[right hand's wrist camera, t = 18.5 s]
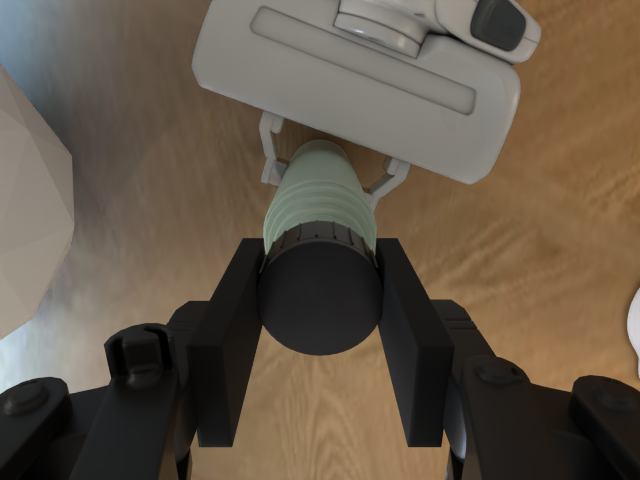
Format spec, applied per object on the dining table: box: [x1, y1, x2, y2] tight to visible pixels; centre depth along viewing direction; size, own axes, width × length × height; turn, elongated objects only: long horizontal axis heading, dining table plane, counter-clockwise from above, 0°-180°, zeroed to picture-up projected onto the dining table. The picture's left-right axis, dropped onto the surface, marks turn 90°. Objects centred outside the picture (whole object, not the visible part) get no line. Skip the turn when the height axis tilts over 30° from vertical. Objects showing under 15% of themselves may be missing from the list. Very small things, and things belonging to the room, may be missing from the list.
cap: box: [256, 220, 384, 356], centre depth 14 cm, size 4×4×2 cm
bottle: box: [263, 139, 377, 254], centre depth 24 cm, size 5×5×22 cm
